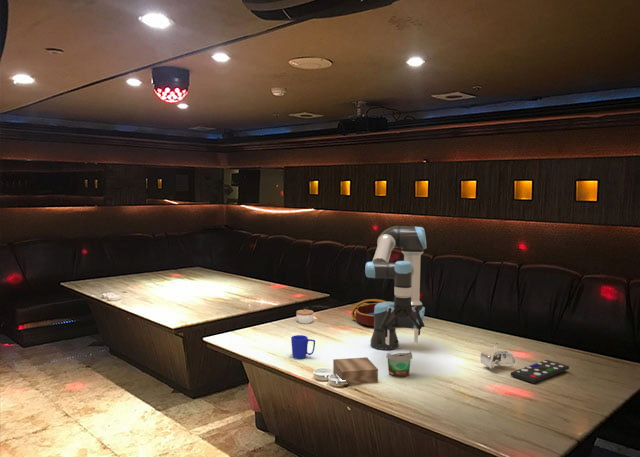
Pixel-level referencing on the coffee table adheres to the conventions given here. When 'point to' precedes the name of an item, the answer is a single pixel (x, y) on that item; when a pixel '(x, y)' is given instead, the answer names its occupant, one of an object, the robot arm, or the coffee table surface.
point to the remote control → (539, 371)
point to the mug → (300, 346)
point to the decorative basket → (365, 312)
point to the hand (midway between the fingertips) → (401, 343)
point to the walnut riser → (356, 370)
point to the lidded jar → (305, 316)
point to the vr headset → (497, 357)
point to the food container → (399, 364)
